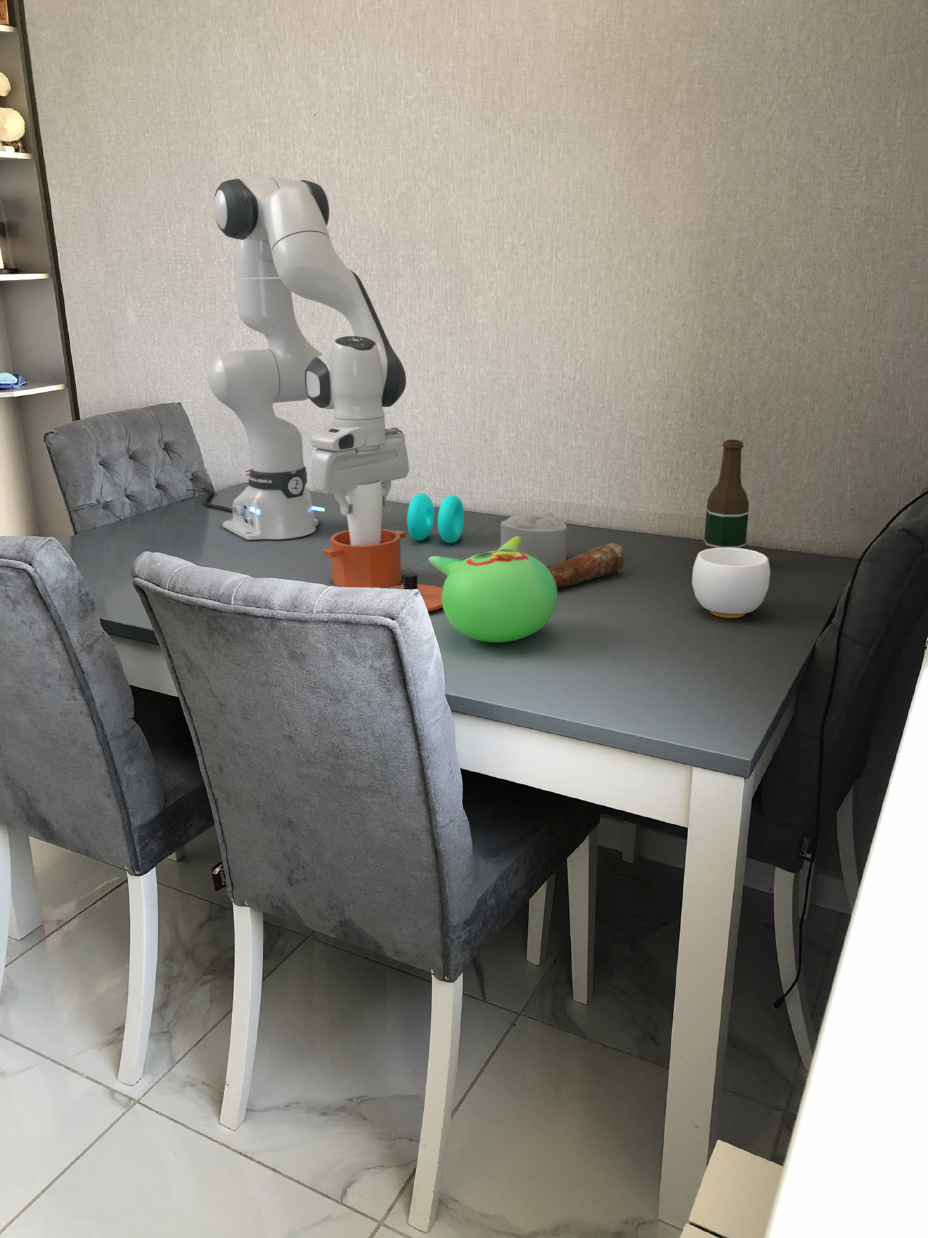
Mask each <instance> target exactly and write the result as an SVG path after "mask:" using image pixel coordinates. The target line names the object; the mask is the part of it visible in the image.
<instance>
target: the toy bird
mask: <svg viewBox="0 0 928 1238" xmlns="http://www.w3.org/2000/svg"><path fill="white" fill-rule="evenodd" d="M520 542H521V538H520V537H519V536H516V537H514V538H512V539H510V540H509V541H508V542H506V543H505V544H504V545H503V546H502V547H501V546H500V547H499V548H497V550H490V551H485V552H481V553H478V554H475V555H472V556H470V557H468V558H465V559H457V558H452V557H447V556H440V555H432V556H430V557H428V562H429V563H430V565H432V566H433V567H435V568H436V569H437V570H439V571H440V572H441V573H442V574H444V575H445V576H446V578H445V581H444V583H443V586H442V589H443V590H442V605H443V607H442V609H443V613H444V615H445V616H446V619H447V620H448V622H449V623H450V625H451V626H452V627H453V628H454V629H455V630H456V631H458V633H460V634H462V635H463V636H465V637H467V638H469V639H471V640H475V641H479V642H483V643H508V642H513V641H518V640H521V639H524V638H526V637H527V638H528V637H529V636H532V635H533V634H535V633H536V632H538V631H539V630H542V629H543V627H545V625H547V623H548V622H549V621H550V620H551V618H552V617H553V615H554V613H555V610H556V607H557V604H558V589H557V587H556V583H555V580H554V578H553V576H552V574H551V572H550V571H549V570H548V568H549V567H546V566H545V565H544V564H543V563H542V562H540V561H539V560H537V559H536V558H534V557H532V556H530V555H527V554H524V553H520V552H518V549H519V545H520Z"/></svg>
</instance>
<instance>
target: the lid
mask: <svg viewBox="0 0 928 1238" xmlns="http://www.w3.org/2000/svg"><path fill="white" fill-rule="evenodd" d="M402 576H403V577H402V578H403V579H402V580H403V581H402V582H403V583H402V584H398V585H397V586H392V587H387V588H404V589H419V590H420V591H421V594H422V596H423V598H424V601H425V602H426V606H427V607H428V612H432V611H436V610H439V609H441V608H442V609H443V605H442V590H443V587H439V586H436V585H429V584H422V583H421V584H420V583H419V584H418V573H416V572H405V573H403V575H402Z"/></svg>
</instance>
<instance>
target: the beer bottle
mask: <svg viewBox="0 0 928 1238" xmlns="http://www.w3.org/2000/svg"><path fill="white" fill-rule="evenodd" d="M721 446H722V447H723V451H722V459H721V466H720V471H719V472H720V473H719V478H718V480H717V483H716V485H715V486H714V487H713V488H712V490H711V492H710V494H709V496H708V498H707V504H706V513H705V525H704V536H703V537H704V538H703V549H702V551H704V550H706V549H712V548H741V549H746V546H747V545H746V543H747V534H748V524H749V523H748V522H749V513H750V511H749V509H750V508H749V507H750V506H749V505H750V504H749V498H748V494H747V492H746V491H745V488H744V487H743V484H742V449H743V448H744V442H742V440H740V439H727V440H724V441H723V443H722V445H721Z"/></svg>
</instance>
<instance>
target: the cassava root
mask: <svg viewBox="0 0 928 1238" xmlns="http://www.w3.org/2000/svg"><path fill="white" fill-rule="evenodd" d="M623 553H624V548H623V546H622V545H620V544H617V543H614V542H610V543H607V544H604V545H600V546H598V547H596V548H592V549H590V550H587V551H585V552H582V553H579V554H578V555H575V556H573V557H571V558H569V559H566V561H564V562H561V563H559V564H556V565H554V566H551V567H547V568H548V570H549V571H550V572H551V574H552V576H553V578H554V580H555V583H556V587H557V590H558V589H561V588H564V587H565V588H566V587H569V586H573V585H577V584H580V583H583V582H585V581H590V580H592V579H593V580H594V579H597V578H600V577H604V576H608V575H612V574H613V573H616V572H618V571H620V570H622V569H623V567H624V563H625V559H624V556H623Z"/></svg>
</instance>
